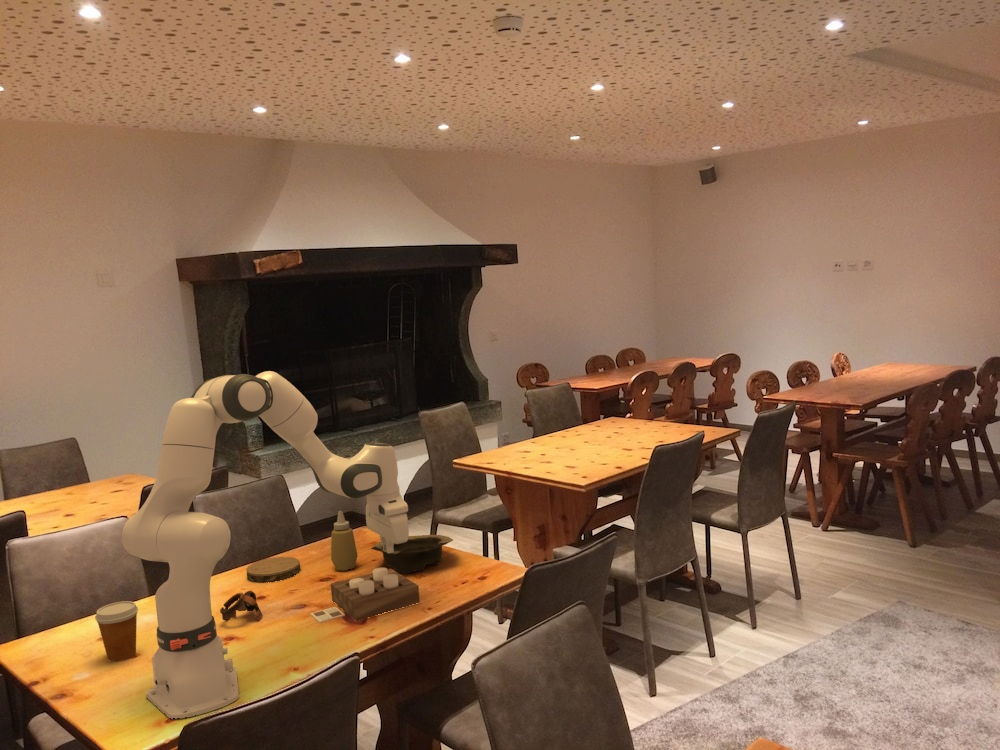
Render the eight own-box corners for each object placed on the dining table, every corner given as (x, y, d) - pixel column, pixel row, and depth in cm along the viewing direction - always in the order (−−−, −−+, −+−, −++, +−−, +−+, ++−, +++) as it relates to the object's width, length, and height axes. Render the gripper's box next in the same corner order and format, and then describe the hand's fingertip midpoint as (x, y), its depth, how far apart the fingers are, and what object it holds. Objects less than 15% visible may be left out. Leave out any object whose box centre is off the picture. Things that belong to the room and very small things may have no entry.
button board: (419, 603, 219) (418, 585, 218) (356, 621, 210) (354, 602, 209) (392, 585, 234) (390, 568, 234) (332, 601, 225) (330, 583, 224)
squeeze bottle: (356, 571, 248) (350, 514, 246) (329, 573, 248) (324, 515, 246) (360, 563, 256) (355, 507, 254) (335, 564, 256) (329, 508, 254)
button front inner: (377, 601, 216) (375, 583, 216) (363, 605, 214) (361, 586, 214) (371, 597, 220) (370, 579, 219) (357, 600, 218) (356, 582, 217)
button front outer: (401, 594, 220) (400, 576, 219) (388, 598, 218) (386, 580, 217) (395, 590, 223) (394, 572, 223) (382, 594, 221) (380, 576, 221)
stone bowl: (405, 583, 234) (400, 552, 234) (359, 572, 253) (355, 542, 253) (471, 559, 250) (467, 529, 250) (424, 550, 269) (420, 522, 269)
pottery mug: (259, 627, 211) (239, 604, 209) (230, 643, 213) (210, 620, 211) (272, 599, 223) (254, 577, 220) (245, 614, 224) (226, 592, 222)
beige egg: (391, 587, 226) (389, 570, 225) (377, 591, 224) (376, 573, 223) (385, 583, 229) (383, 566, 229) (371, 587, 227) (370, 569, 227)
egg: (367, 598, 222) (366, 580, 222) (353, 602, 220) (352, 584, 220) (362, 594, 226) (360, 576, 225) (348, 598, 224) (346, 580, 223)
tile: (345, 615, 214) (344, 614, 214) (319, 623, 210) (319, 621, 210) (335, 608, 220) (335, 606, 220) (310, 614, 216) (310, 613, 216)
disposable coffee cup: (115, 667, 192) (109, 618, 191) (92, 660, 197) (86, 612, 196) (151, 651, 200) (146, 603, 199) (127, 644, 205) (122, 598, 204)
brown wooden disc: (254, 588, 241) (253, 578, 241) (241, 573, 255) (240, 564, 254) (307, 575, 249) (306, 566, 248) (292, 562, 262) (291, 553, 262)
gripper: (358, 496, 225) (362, 545, 227) (388, 511, 208) (393, 564, 209) (379, 492, 228) (383, 540, 230) (410, 506, 211) (415, 558, 213)
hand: (388, 551), depth 220 cm, fingers closed
